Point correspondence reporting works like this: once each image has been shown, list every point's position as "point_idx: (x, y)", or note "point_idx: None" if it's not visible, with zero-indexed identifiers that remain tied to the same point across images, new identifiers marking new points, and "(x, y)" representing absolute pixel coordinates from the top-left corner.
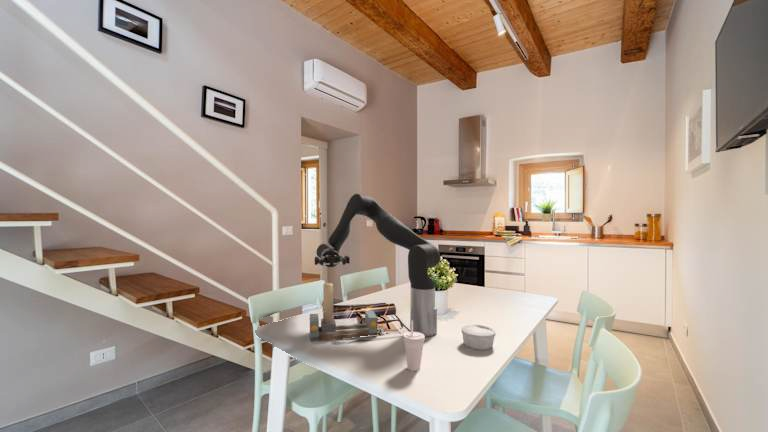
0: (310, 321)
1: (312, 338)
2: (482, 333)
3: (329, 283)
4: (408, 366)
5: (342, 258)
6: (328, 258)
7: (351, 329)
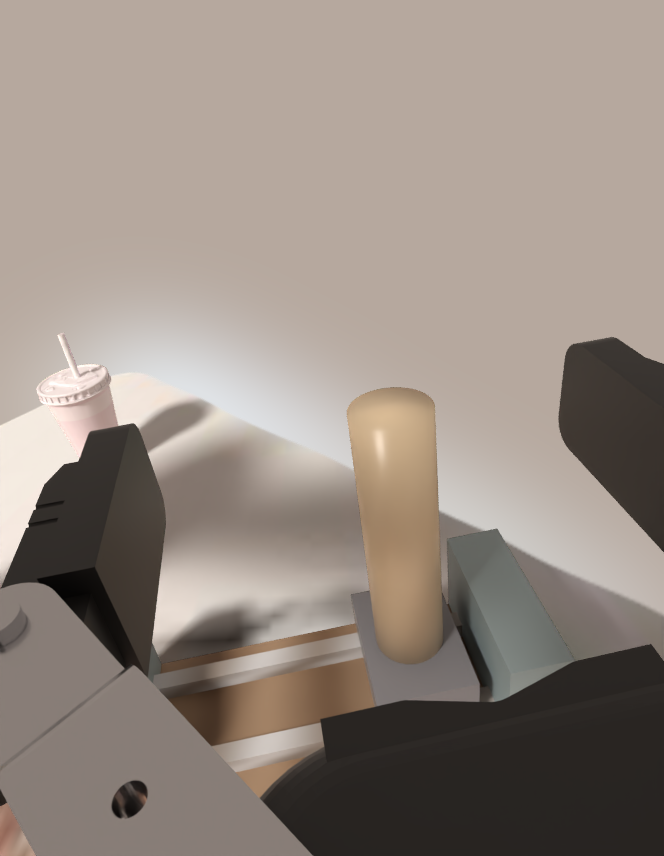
0: (496, 532)
1: None
2: None
3: (382, 420)
4: None
5: (100, 532)
6: (640, 650)
7: (260, 662)
